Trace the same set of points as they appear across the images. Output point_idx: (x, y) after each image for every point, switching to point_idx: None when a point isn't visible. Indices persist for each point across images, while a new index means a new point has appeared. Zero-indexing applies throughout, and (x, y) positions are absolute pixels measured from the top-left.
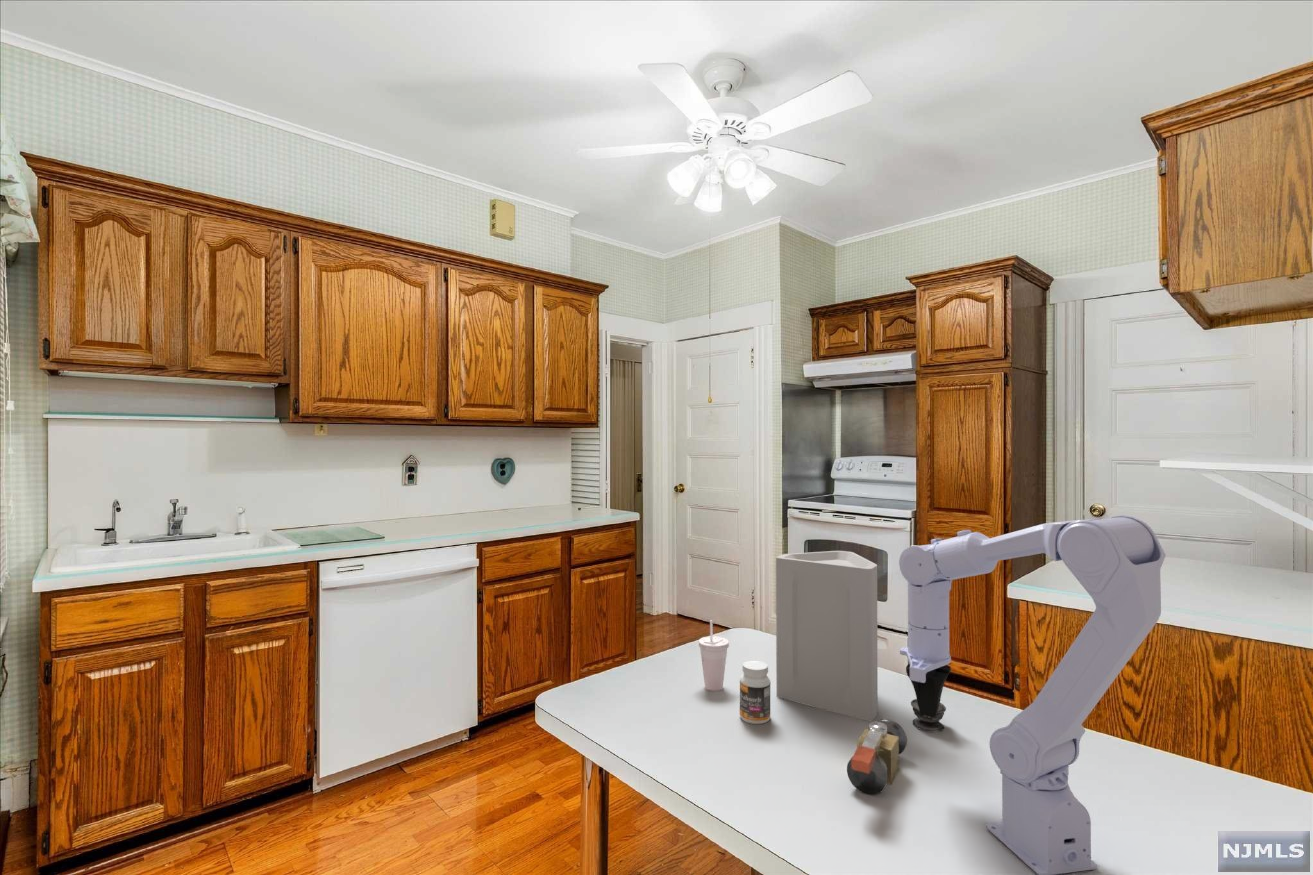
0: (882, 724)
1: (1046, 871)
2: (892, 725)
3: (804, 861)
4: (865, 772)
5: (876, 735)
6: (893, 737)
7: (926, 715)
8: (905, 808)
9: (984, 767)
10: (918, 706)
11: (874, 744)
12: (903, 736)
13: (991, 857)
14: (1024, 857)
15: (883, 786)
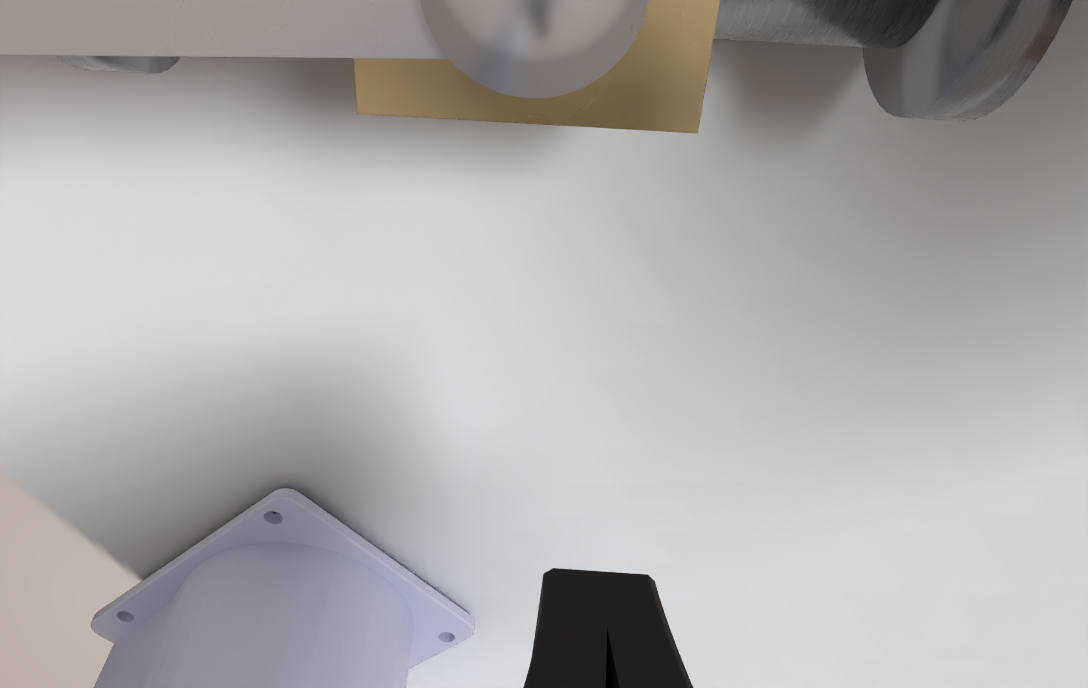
0: (593, 33)
1: (115, 639)
2: (966, 29)
3: None
4: None
5: (272, 10)
6: (653, 90)
7: (538, 610)
8: (178, 141)
9: (909, 459)
10: (549, 625)
11: (26, 34)
12: (903, 109)
13: (83, 497)
14: (142, 595)
15: None
